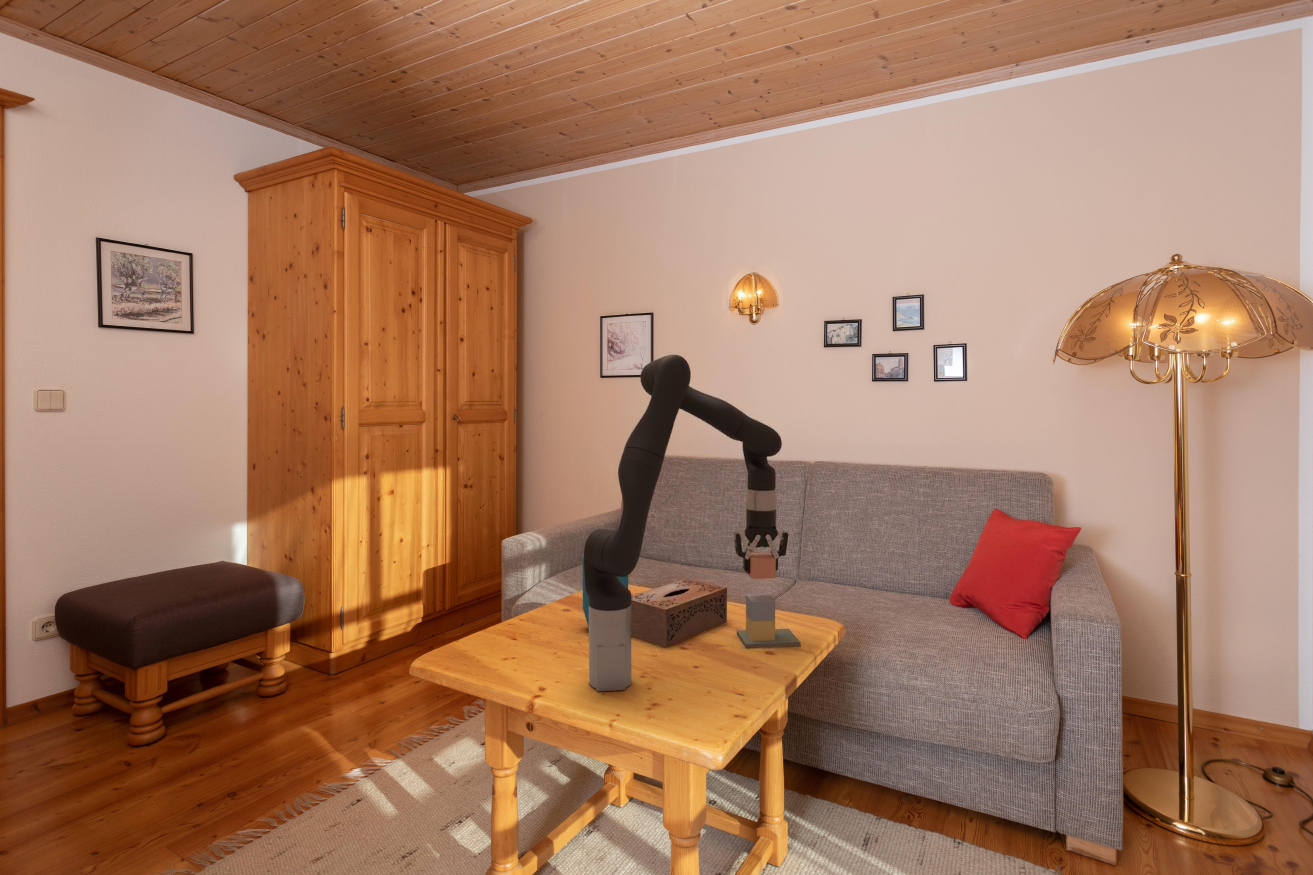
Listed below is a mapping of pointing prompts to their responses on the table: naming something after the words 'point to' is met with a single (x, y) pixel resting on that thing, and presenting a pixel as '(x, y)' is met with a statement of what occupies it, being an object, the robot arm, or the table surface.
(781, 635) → the felt mat
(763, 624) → the ochre block
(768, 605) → the slate block
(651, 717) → the table surface
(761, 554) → the terracotta block
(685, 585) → the tissue box cover
